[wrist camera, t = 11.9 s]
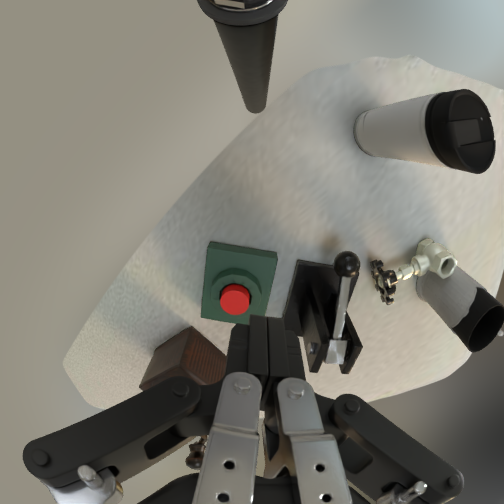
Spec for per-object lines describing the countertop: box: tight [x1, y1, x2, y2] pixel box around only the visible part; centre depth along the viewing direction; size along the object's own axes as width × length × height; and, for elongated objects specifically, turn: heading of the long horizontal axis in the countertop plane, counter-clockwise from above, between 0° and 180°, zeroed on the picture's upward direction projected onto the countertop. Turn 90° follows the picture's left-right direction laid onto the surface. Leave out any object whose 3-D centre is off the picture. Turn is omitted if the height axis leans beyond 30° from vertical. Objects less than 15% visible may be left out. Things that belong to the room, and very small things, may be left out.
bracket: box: [282, 260, 363, 374], centre depth 33 cm, size 12×9×13 cm
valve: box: [370, 238, 457, 305], centre depth 33 cm, size 7×7×12 cm
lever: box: [323, 251, 360, 364], centre depth 30 cm, size 13×3×3 cm, turn 169°
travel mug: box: [354, 89, 496, 174], centre depth 21 cm, size 6×7×20 cm
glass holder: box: [416, 265, 504, 352], centre depth 31 cm, size 9×14×15 cm, turn 67°
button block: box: [201, 242, 278, 325], centre depth 37 cm, size 11×9×4 cm
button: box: [220, 284, 250, 315], centre depth 34 cm, size 4×4×2 cm
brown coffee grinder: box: [139, 326, 227, 470], centre depth 37 cm, size 16×11×18 cm
